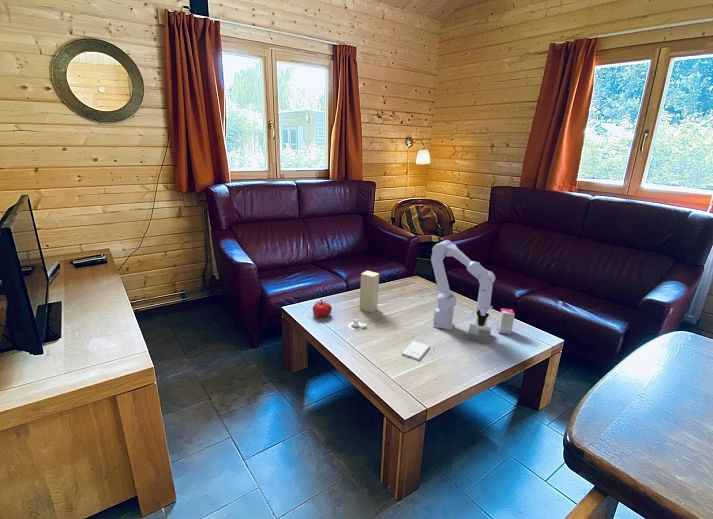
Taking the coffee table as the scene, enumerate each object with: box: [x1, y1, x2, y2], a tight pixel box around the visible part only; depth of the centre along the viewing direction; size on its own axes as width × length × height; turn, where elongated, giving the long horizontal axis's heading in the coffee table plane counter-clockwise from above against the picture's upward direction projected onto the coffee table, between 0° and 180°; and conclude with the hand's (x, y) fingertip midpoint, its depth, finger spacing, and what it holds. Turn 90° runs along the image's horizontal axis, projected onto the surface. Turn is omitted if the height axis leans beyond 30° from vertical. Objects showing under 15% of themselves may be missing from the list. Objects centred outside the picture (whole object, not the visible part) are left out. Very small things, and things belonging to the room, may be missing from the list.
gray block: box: [466, 323, 492, 345], centre depth 185 cm, size 10×10×4 cm
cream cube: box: [474, 314, 489, 329], centre depth 182 cm, size 5×5×5 cm
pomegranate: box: [312, 298, 333, 319], centre depth 201 cm, size 10×10×9 cm
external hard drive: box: [401, 340, 431, 361], centre depth 171 cm, size 2×8×12 cm
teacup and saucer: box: [347, 317, 367, 331], centre depth 192 cm, size 9×8×4 cm
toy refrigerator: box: [359, 270, 380, 313], centre depth 209 cm, size 8×7×21 cm
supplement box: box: [497, 308, 516, 336], centre depth 189 cm, size 6×6×12 cm
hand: (480, 323), depth 183 cm, fingers closed on cream cube, 5 cm apart
